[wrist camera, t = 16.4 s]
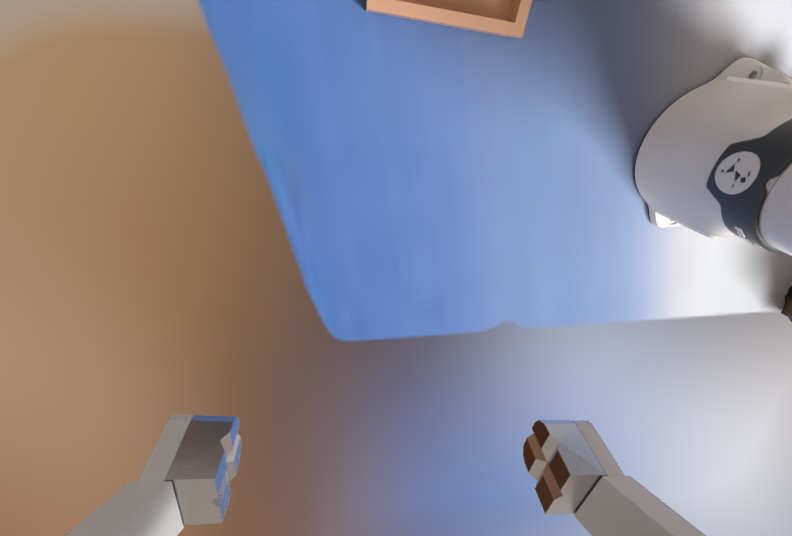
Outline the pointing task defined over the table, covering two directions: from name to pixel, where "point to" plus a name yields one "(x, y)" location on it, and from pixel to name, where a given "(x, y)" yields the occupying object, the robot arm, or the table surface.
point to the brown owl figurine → (788, 304)
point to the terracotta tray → (461, 14)
